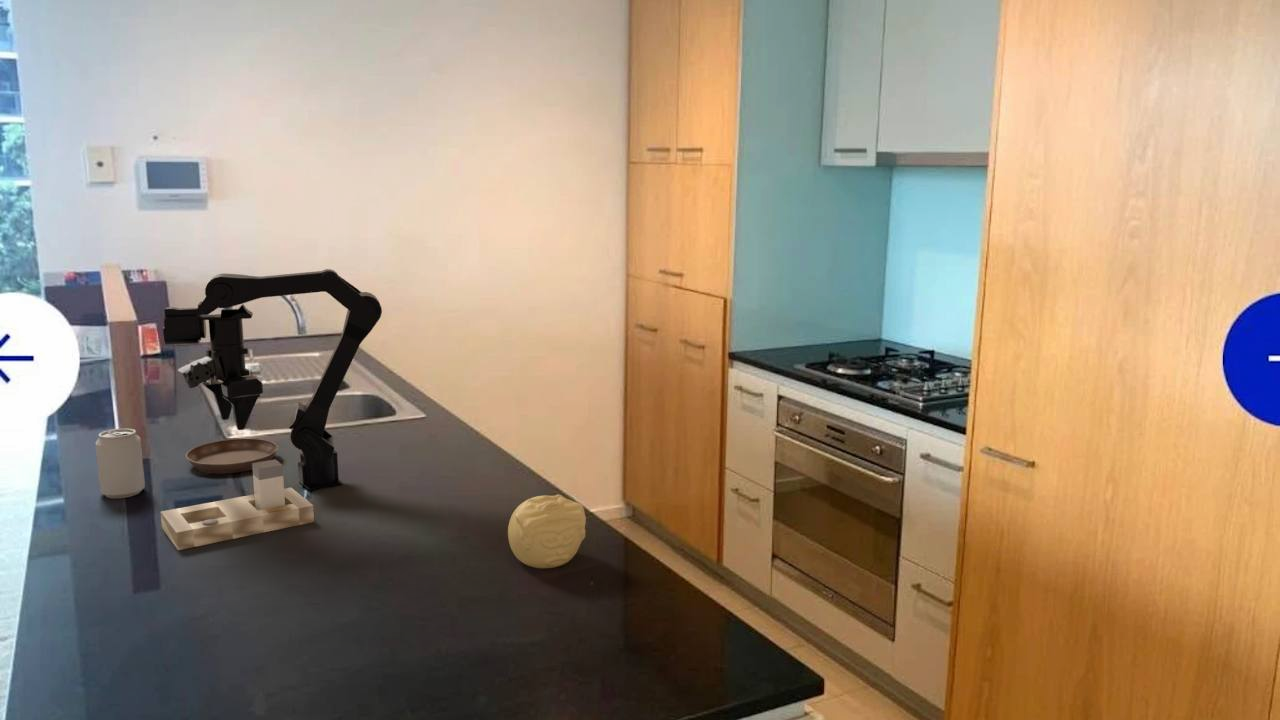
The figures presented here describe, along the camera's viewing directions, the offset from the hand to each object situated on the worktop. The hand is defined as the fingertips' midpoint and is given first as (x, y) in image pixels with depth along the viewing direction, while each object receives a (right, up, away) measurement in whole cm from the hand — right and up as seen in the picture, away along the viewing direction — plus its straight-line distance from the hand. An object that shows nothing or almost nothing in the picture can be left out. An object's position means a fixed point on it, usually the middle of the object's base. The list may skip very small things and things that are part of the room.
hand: (232, 424), depth 185 cm
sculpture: (+62, -20, -29) cm, 71 cm away
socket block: (+7, -16, -15) cm, 23 cm away
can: (-21, -13, +1) cm, 25 cm away
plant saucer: (-8, -10, +20) cm, 24 cm away
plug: (+12, -16, -12) cm, 23 cm away
